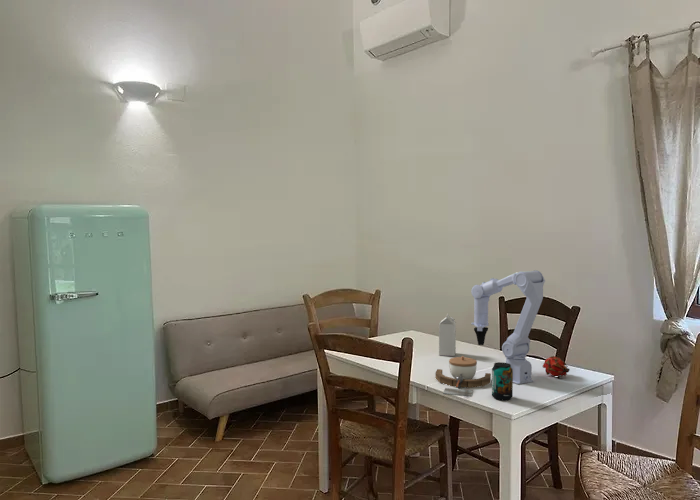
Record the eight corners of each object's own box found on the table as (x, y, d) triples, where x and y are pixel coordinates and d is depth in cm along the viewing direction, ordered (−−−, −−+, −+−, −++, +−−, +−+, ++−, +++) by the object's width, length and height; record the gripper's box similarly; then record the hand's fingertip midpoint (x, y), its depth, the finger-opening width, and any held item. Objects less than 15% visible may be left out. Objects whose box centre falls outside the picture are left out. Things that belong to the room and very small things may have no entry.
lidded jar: (477, 376, 210) (477, 353, 210) (476, 384, 200) (476, 360, 199) (450, 375, 213) (450, 352, 213) (447, 382, 203) (447, 358, 202)
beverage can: (511, 402, 180) (511, 367, 179) (490, 399, 183) (491, 366, 182) (513, 396, 187) (513, 362, 186) (493, 393, 189) (493, 361, 189)
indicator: (458, 377, 202) (458, 372, 202) (464, 377, 201) (464, 372, 201) (453, 388, 188) (453, 383, 188) (460, 389, 187) (460, 383, 187)
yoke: (437, 375, 213) (437, 369, 213) (490, 379, 206) (490, 373, 206) (428, 392, 191) (428, 385, 191) (487, 397, 185) (487, 390, 185)
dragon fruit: (546, 375, 217) (565, 387, 206) (533, 365, 215) (552, 377, 203) (558, 358, 218) (578, 370, 206) (545, 348, 215) (565, 359, 203)
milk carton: (438, 355, 244) (438, 315, 243) (440, 352, 251) (440, 312, 250) (454, 356, 242) (454, 316, 241) (455, 353, 249) (455, 313, 248)
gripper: (473, 309, 228) (472, 340, 229) (469, 315, 214) (469, 348, 215) (489, 310, 226) (489, 341, 227) (487, 316, 212) (487, 349, 213)
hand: (480, 344), depth 221 cm, fingers closed
